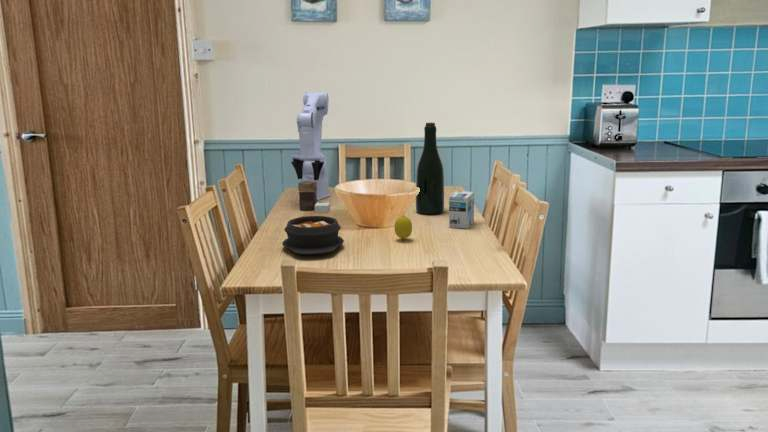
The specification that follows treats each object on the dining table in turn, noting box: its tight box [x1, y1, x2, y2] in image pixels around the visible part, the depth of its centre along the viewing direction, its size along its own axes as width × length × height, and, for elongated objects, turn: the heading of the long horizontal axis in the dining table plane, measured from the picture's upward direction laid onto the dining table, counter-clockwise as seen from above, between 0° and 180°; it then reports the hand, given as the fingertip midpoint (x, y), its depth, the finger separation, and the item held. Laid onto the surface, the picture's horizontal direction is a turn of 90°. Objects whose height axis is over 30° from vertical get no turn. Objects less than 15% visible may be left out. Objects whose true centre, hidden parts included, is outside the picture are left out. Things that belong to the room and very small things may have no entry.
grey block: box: [314, 202, 331, 214], centre depth 245 cm, size 5×5×3 cm
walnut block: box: [297, 180, 317, 192], centre depth 248 cm, size 5×5×3 cm
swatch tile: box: [317, 201, 333, 206], centre depth 257 cm, size 6×6×1 cm
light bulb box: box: [448, 190, 475, 230], centre depth 222 cm, size 11×7×11 cm, turn 161°
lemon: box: [394, 214, 413, 241], centre depth 205 cm, size 6×6×8 cm
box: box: [298, 190, 318, 212], centre depth 249 cm, size 6×6×7 cm
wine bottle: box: [415, 122, 445, 216], centre depth 238 cm, size 10×10×33 cm
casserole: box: [281, 215, 345, 256], centre depth 198 cm, size 25×19×8 cm
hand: (308, 179), depth 252 cm, fingers open, 7 cm apart
